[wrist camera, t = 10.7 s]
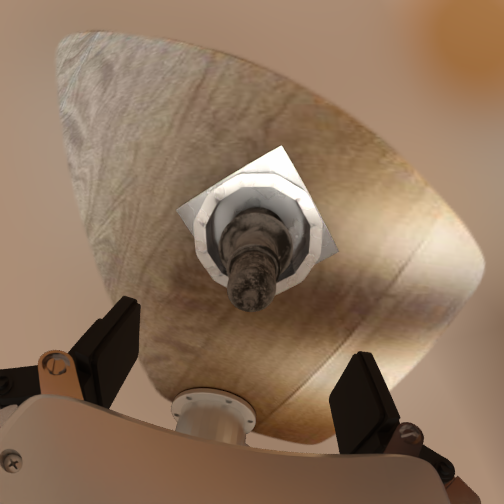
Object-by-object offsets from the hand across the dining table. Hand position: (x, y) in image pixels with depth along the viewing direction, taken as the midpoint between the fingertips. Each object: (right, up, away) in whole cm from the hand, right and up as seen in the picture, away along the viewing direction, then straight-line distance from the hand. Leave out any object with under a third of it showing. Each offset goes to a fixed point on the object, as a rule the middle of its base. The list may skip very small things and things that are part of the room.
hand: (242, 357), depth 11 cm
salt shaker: (+1, +6, +15) cm, 16 cm away
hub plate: (+1, +7, +15) cm, 17 cm away
